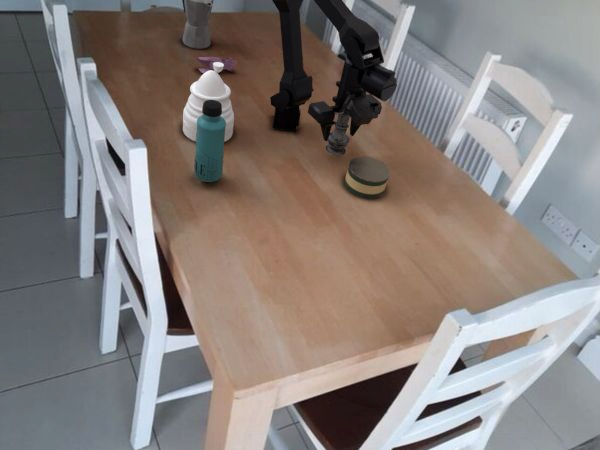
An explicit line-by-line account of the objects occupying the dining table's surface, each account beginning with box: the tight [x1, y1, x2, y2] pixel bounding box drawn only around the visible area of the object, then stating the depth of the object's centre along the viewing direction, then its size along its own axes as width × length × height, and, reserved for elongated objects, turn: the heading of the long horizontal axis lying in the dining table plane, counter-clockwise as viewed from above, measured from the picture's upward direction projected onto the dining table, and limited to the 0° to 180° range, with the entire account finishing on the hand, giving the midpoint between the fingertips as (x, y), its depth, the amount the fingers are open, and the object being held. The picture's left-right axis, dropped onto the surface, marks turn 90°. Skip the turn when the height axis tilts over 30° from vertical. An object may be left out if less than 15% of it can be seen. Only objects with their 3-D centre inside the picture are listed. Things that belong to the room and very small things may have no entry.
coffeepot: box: [181, 0, 214, 50], centre depth 178 cm, size 15×9×18 cm, turn 44°
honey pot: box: [182, 62, 235, 143], centre depth 140 cm, size 13×13×18 cm
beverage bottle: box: [193, 100, 226, 183], centre depth 123 cm, size 6×7×20 cm
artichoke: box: [196, 56, 238, 74], centre depth 170 cm, size 5×4×12 cm
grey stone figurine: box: [325, 113, 351, 157], centre depth 140 cm, size 6×6×12 cm
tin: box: [344, 156, 391, 199], centre depth 136 cm, size 10×10×5 cm
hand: (338, 137), depth 142 cm, fingers closed on grey stone figurine, 8 cm apart
